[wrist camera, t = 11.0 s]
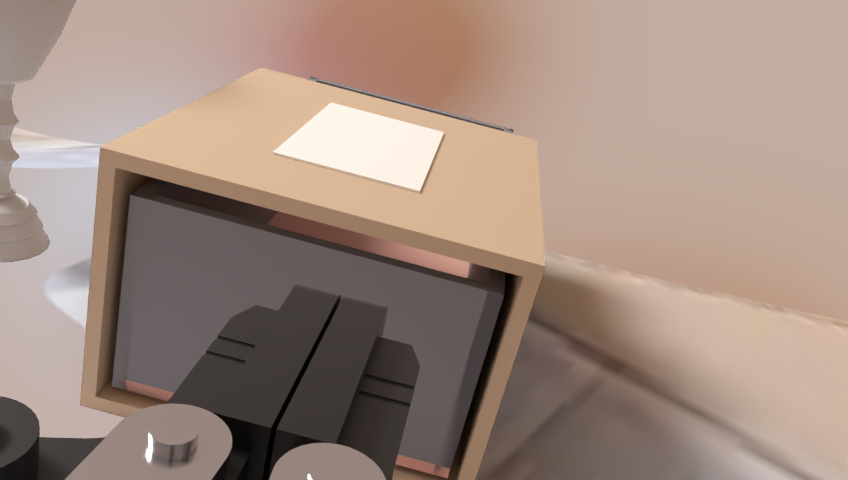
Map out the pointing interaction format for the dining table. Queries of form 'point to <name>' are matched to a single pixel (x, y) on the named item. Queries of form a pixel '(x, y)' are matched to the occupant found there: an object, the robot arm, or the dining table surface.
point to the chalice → (3, 67)
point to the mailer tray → (274, 280)
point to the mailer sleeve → (334, 205)
